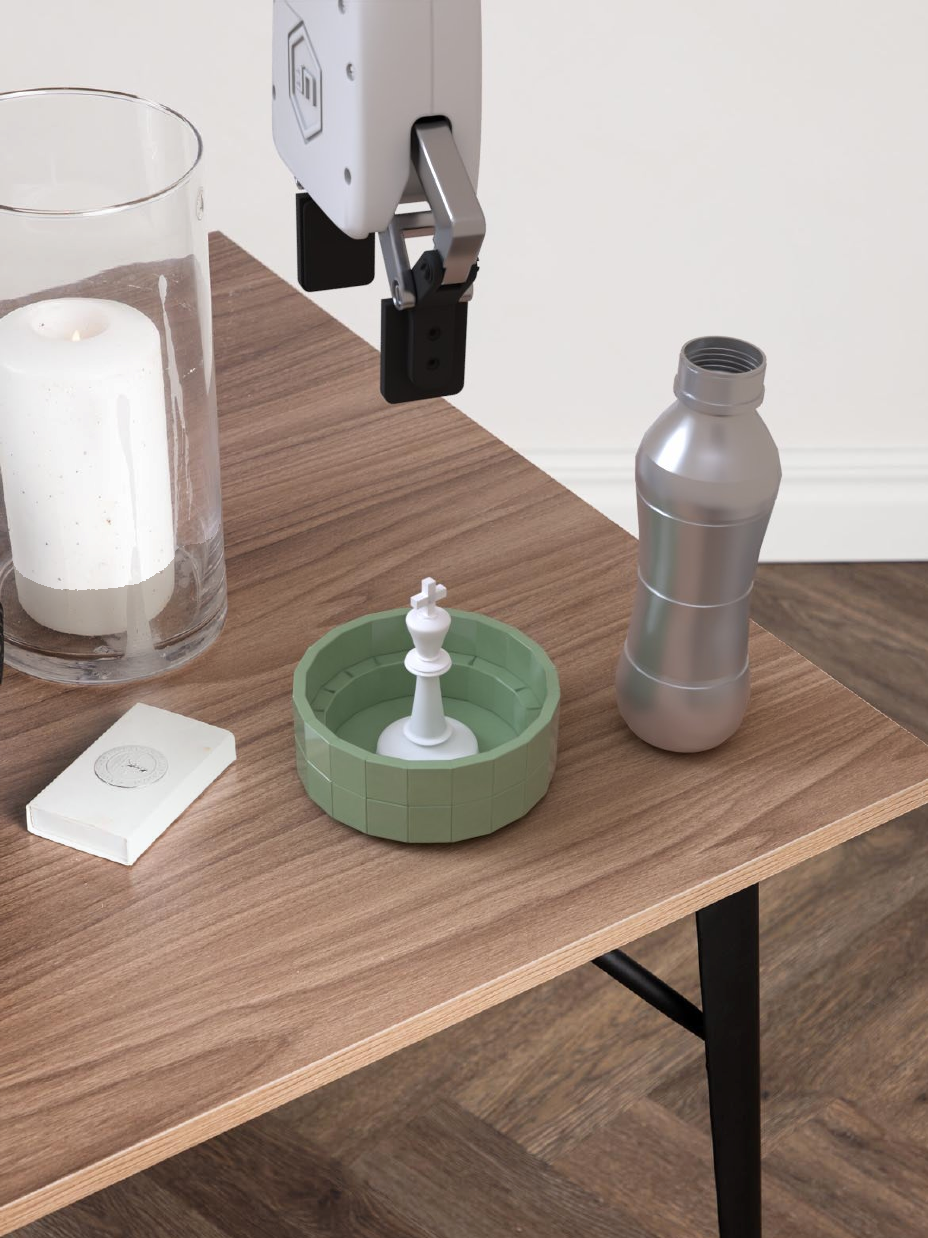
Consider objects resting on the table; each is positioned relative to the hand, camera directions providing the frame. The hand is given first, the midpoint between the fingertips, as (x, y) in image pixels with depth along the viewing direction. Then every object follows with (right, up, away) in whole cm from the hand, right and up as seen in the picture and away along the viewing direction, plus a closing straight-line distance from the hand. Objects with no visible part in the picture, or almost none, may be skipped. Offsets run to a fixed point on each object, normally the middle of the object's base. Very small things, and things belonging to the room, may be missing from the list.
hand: (377, 338), depth 68 cm
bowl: (+1, -17, +14) cm, 22 cm away
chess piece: (+1, -16, +14) cm, 21 cm away
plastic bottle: (+13, -15, +17) cm, 26 cm away
